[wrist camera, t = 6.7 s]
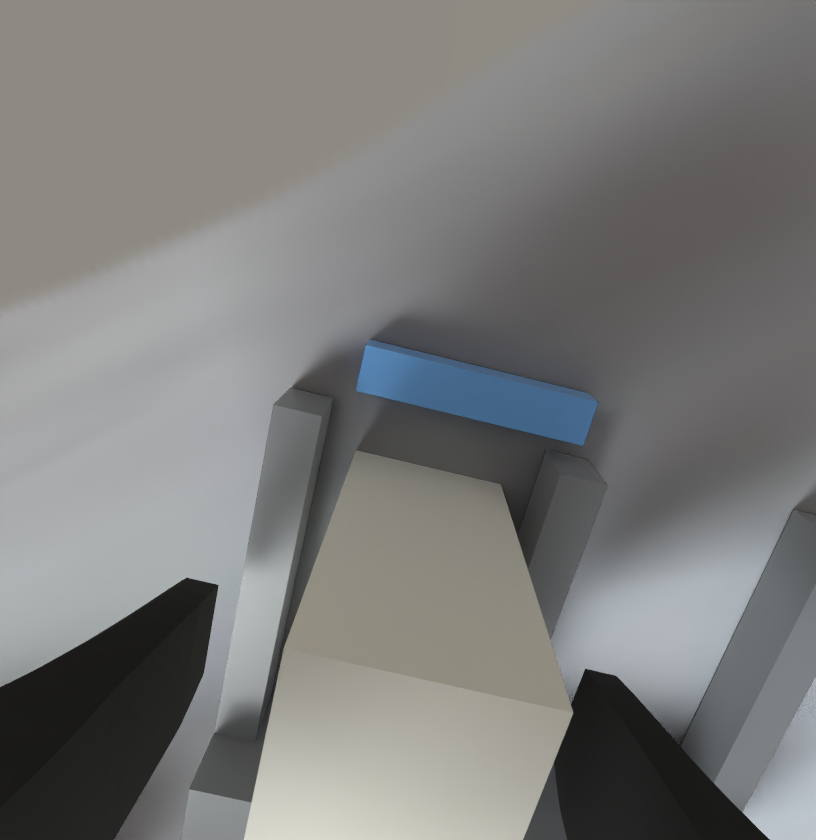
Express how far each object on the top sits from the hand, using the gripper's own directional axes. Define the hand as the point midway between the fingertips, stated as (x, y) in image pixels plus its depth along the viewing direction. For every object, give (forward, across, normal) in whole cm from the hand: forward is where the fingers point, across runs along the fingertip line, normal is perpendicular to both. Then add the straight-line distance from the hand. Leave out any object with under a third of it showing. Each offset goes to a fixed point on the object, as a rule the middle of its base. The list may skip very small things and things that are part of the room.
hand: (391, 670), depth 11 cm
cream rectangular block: (+3, 0, 0) cm, 4 cm away
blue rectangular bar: (+3, 0, -5) cm, 6 cm away
